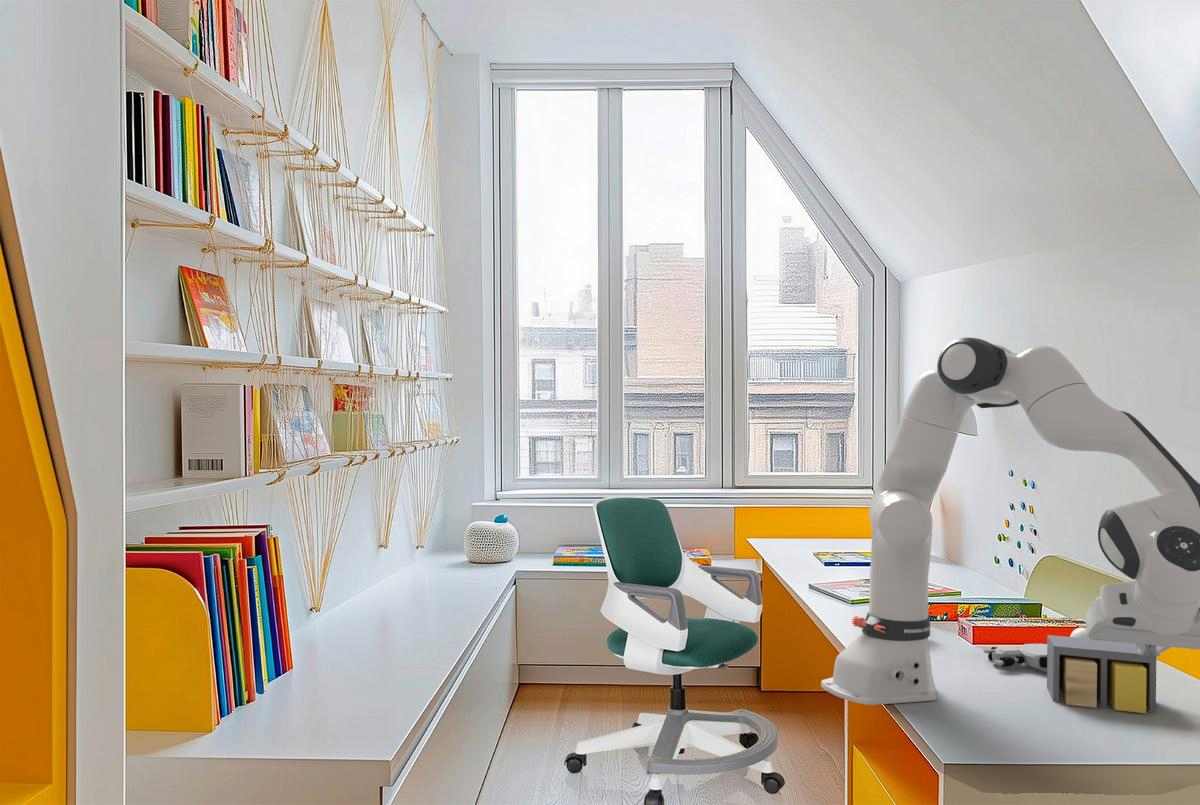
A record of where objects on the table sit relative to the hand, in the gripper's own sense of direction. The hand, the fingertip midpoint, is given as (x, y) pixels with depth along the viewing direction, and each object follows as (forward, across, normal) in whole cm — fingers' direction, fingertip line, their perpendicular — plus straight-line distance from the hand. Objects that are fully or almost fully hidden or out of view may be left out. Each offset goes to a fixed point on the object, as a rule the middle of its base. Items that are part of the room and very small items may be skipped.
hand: (1148, 652), depth 153 cm
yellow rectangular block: (+22, 0, -2) cm, 22 cm away
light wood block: (+22, +8, -2) cm, 24 cm away
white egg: (+51, 0, -31) cm, 60 cm away
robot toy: (+38, +15, -17) cm, 44 cm away
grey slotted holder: (+24, +4, -3) cm, 24 cm away
